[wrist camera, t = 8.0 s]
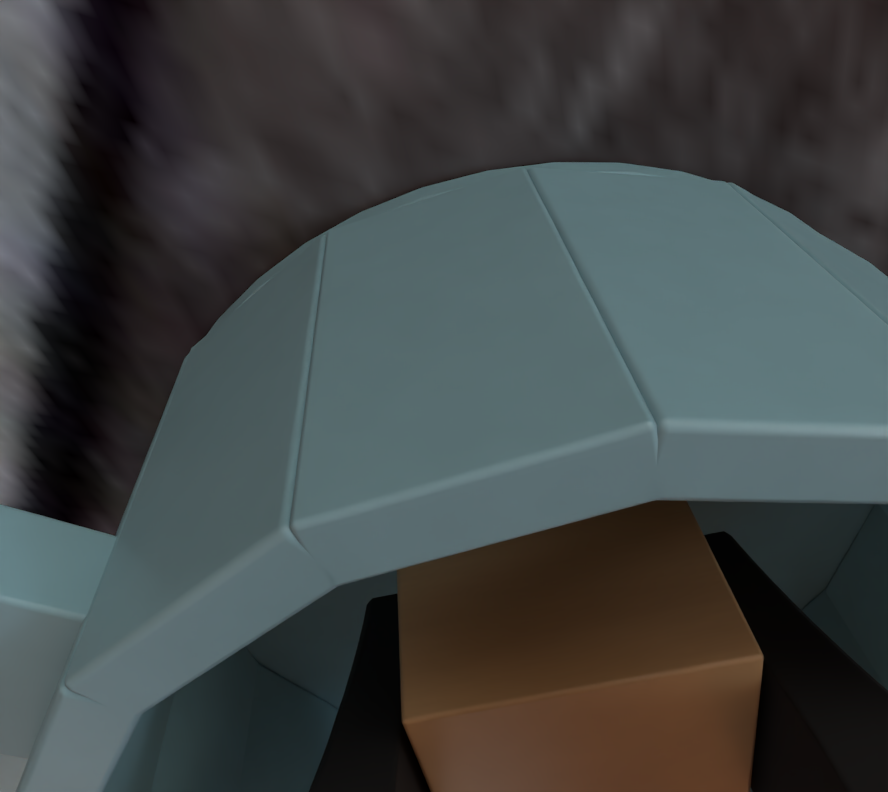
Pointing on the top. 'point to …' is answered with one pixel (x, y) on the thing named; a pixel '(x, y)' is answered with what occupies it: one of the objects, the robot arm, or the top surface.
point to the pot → (449, 457)
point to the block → (580, 661)
